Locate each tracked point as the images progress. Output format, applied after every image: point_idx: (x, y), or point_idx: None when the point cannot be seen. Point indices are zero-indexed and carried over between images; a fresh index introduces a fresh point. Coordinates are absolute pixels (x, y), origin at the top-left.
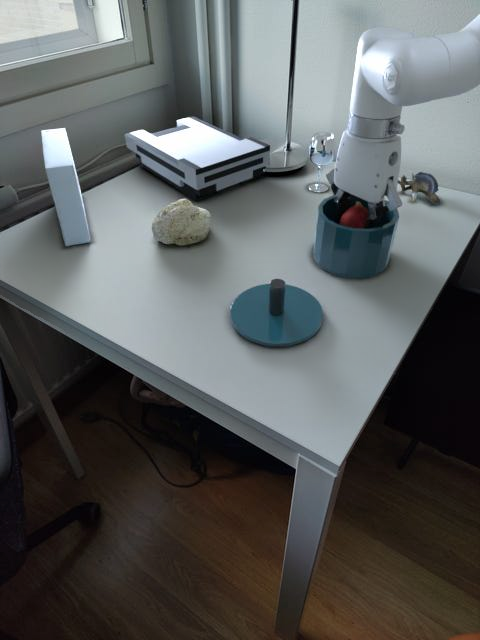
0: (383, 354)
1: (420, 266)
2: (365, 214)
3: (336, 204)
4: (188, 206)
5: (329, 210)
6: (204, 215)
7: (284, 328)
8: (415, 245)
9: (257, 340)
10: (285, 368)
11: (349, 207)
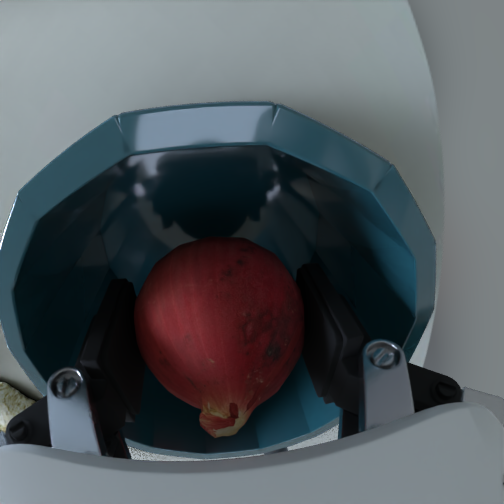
0: (414, 353)
1: (384, 108)
2: (284, 379)
3: (42, 317)
4: None
5: (65, 339)
6: None
7: None
8: (306, 11)
9: (293, 444)
10: (334, 426)
11: (119, 335)
